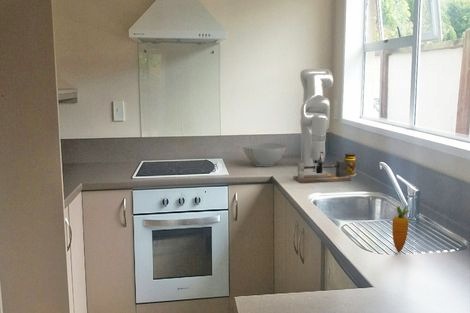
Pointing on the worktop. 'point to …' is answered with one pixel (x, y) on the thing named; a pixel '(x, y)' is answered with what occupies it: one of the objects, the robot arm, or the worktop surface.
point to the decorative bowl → (264, 153)
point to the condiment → (350, 164)
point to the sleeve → (315, 167)
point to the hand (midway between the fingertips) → (317, 172)
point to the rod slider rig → (336, 177)
